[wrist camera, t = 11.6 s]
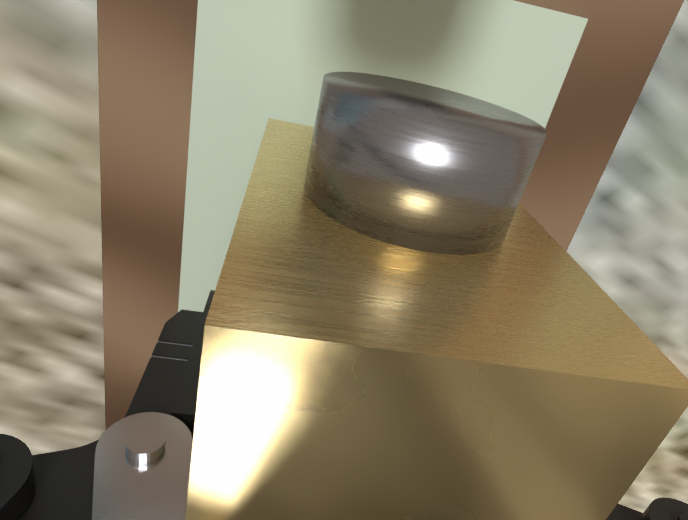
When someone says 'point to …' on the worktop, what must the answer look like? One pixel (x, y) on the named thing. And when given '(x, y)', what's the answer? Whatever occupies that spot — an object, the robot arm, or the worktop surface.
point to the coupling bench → (301, 107)
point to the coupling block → (414, 330)
